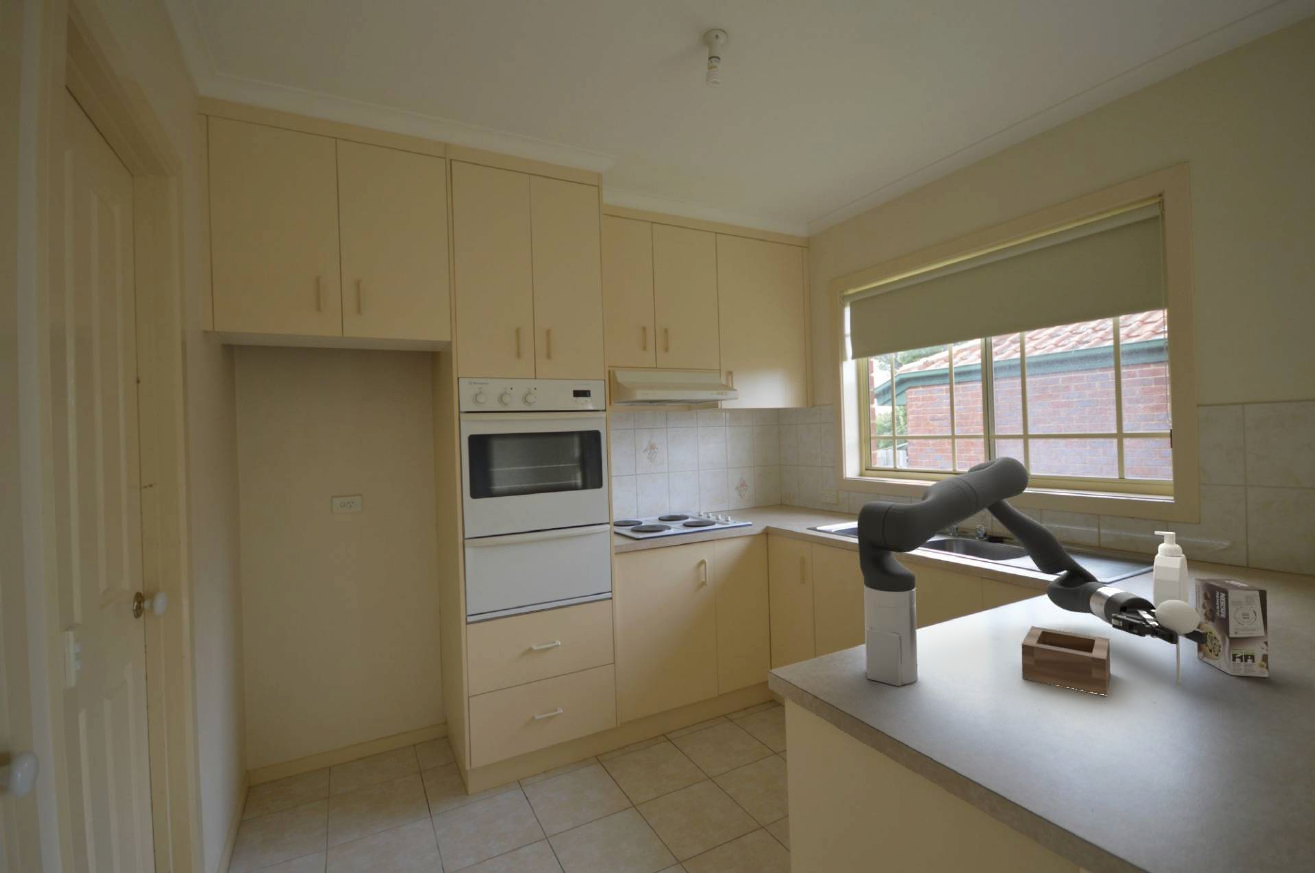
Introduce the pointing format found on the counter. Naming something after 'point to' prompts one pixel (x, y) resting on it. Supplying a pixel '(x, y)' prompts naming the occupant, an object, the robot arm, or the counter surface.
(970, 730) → the counter surface
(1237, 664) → the coffee box
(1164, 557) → the soap bottle
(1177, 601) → the lollipop
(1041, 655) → the base
